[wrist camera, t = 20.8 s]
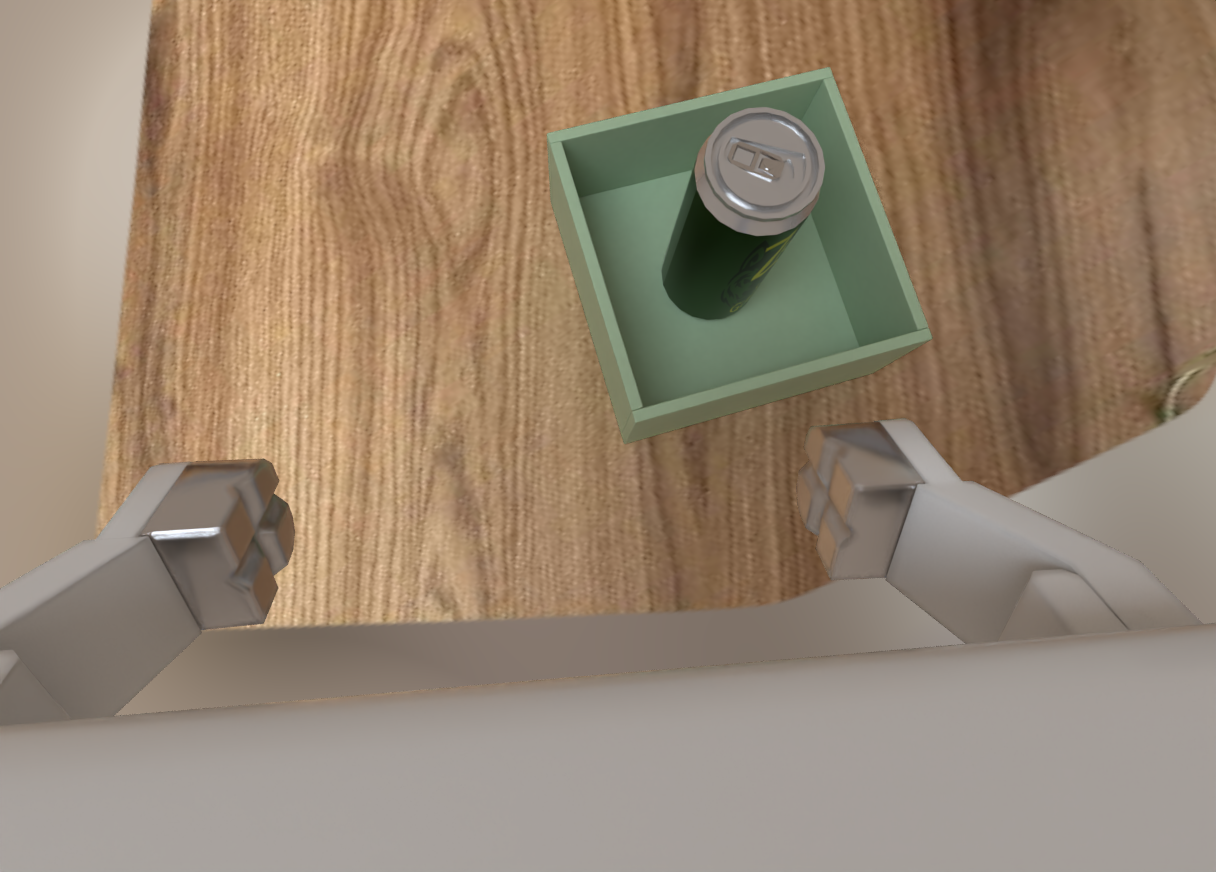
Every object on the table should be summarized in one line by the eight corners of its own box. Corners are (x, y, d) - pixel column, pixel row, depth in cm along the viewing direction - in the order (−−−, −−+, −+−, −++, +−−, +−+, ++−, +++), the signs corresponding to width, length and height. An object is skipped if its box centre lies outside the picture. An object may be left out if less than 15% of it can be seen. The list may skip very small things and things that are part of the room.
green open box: (873, 373, 39) (933, 338, 33) (623, 444, 38) (635, 422, 31) (789, 141, 41) (830, 66, 35) (550, 200, 40) (546, 132, 33)
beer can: (646, 303, 38) (680, 194, 27) (678, 222, 39) (725, 82, 28) (733, 338, 38) (806, 244, 27) (764, 256, 39) (847, 130, 28)
